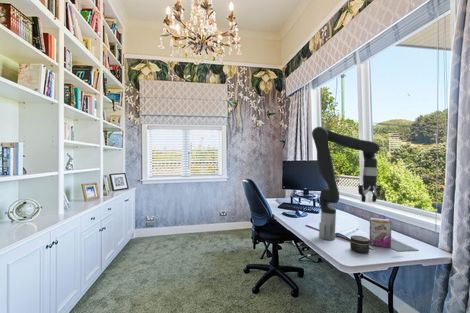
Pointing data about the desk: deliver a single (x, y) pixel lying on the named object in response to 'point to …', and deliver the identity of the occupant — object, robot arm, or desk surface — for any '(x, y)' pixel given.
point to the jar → (359, 244)
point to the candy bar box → (380, 232)
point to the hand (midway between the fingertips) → (368, 201)
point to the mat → (401, 246)
